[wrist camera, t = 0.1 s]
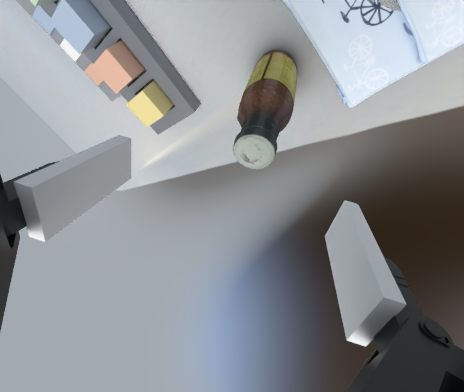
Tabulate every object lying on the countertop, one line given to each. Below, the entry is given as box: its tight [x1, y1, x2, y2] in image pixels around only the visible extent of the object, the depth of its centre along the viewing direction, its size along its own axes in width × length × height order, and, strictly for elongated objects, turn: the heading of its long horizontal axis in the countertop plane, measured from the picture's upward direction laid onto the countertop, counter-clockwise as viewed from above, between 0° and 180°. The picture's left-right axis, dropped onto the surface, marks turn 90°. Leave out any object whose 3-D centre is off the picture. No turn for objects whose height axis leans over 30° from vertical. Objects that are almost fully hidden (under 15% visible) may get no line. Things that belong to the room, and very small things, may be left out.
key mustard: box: [126, 80, 174, 127], centre depth 40 cm, size 5×5×4 cm
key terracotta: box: [91, 40, 145, 94], centre depth 37 cm, size 5×5×4 cm
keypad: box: [16, 0, 201, 134], centre depth 36 cm, size 14×36×3 cm, turn 36°
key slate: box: [49, 0, 111, 54], centre depth 33 cm, size 5×5×4 cm
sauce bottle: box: [233, 51, 297, 169], centre depth 29 cm, size 7×6×20 cm
